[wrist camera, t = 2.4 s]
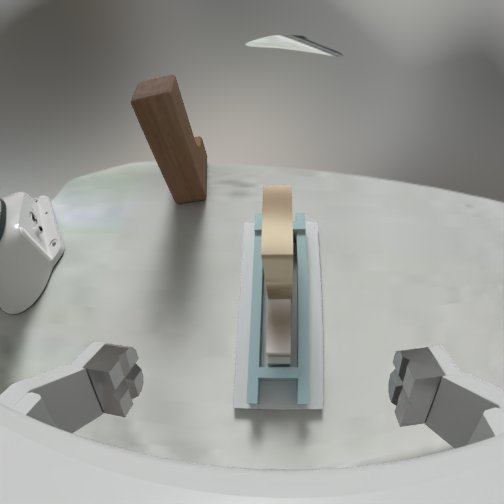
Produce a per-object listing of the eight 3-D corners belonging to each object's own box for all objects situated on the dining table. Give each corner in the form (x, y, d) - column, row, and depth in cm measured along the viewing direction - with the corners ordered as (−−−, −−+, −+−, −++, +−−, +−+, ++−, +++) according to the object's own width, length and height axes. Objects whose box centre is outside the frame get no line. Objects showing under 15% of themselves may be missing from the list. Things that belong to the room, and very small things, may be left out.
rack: (321, 409, 29) (326, 408, 25) (234, 407, 30) (227, 407, 26) (316, 226, 40) (318, 207, 36) (245, 227, 41) (241, 208, 37)
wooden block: (180, 160, 48) (144, 64, 32) (207, 156, 48) (179, 56, 32) (175, 205, 44) (128, 102, 28) (206, 200, 43) (169, 92, 28)
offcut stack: (290, 366, 31) (290, 360, 27) (268, 366, 31) (266, 360, 27) (290, 311, 34) (290, 298, 30) (270, 311, 34) (267, 298, 30)
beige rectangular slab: (291, 302, 34) (293, 254, 24) (268, 302, 34) (260, 254, 25) (291, 246, 37) (291, 185, 28) (270, 246, 38) (263, 185, 28)
